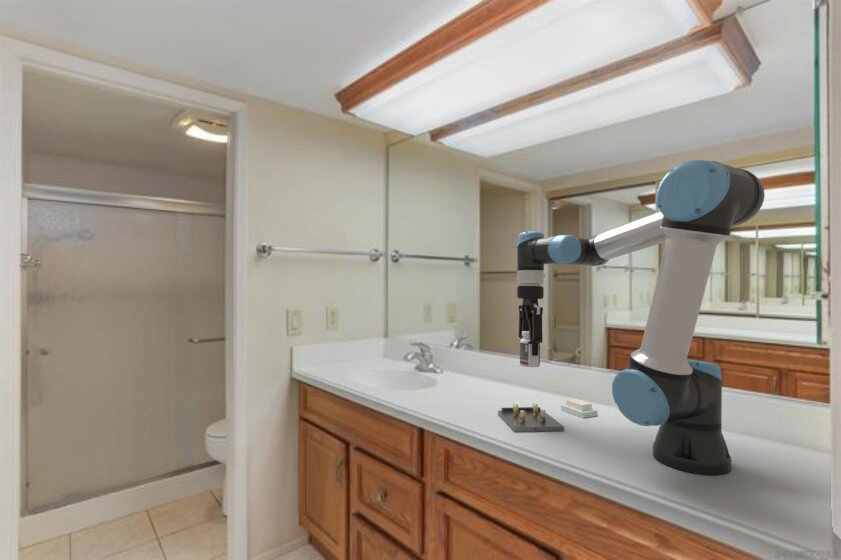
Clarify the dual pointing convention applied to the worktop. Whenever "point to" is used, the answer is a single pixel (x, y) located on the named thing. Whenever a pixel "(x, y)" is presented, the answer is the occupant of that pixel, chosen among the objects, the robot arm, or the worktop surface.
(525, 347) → the pill bottle
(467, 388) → the worktop surface
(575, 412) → the soap dish
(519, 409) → the plate
